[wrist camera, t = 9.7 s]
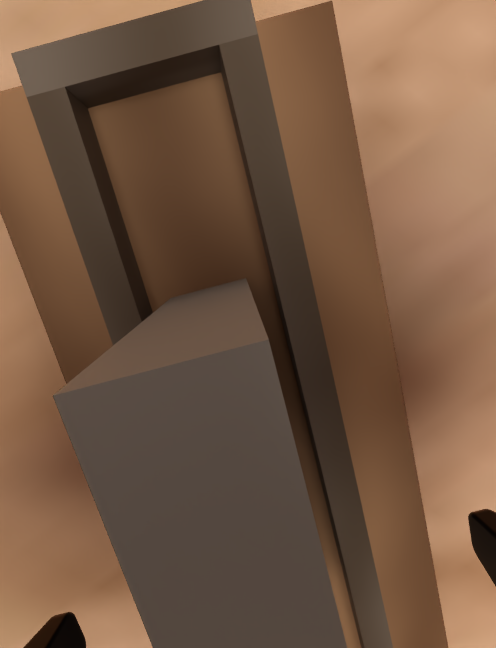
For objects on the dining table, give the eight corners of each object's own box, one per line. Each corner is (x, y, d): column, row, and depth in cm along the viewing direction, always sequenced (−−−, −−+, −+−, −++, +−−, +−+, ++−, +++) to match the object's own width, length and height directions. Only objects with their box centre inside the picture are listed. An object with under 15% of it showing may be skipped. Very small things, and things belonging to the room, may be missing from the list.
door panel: (261, 593, 14) (293, 1000, 7) (170, 297, 12) (52, 395, 4) (323, 577, 14) (429, 969, 7) (245, 277, 12) (268, 339, 4)
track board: (208, 705, 18) (203, 797, 15) (-8, 120, 12) (-86, 80, 9) (436, 649, 17) (477, 732, 14) (320, 31, 12) (348, -40, 9)
